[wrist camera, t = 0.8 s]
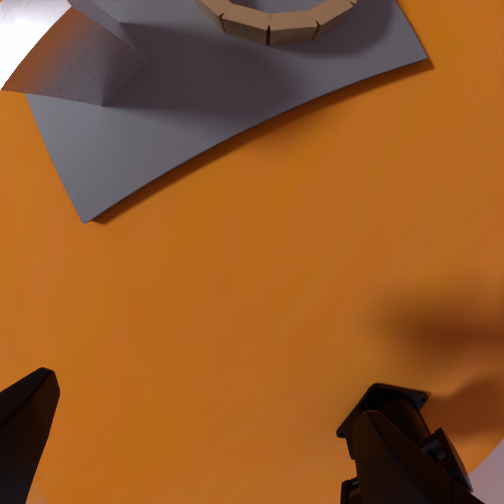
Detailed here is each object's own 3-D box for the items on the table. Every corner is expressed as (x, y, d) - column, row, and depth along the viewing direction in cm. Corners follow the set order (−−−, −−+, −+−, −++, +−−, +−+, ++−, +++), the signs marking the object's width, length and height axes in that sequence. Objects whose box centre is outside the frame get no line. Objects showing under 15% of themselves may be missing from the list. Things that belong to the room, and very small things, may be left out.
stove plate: (300, -101, 11) (301, -109, 10) (421, 61, 16) (427, 57, 15) (17, 45, 15) (10, 43, 14) (90, 220, 19) (83, 224, 18)
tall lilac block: (152, 61, 15) (71, 6, 7) (101, 106, 16) (-1, 90, 8) (119, 22, 14) (37, -37, 6) (72, 65, 15) (-26, 36, 7)
